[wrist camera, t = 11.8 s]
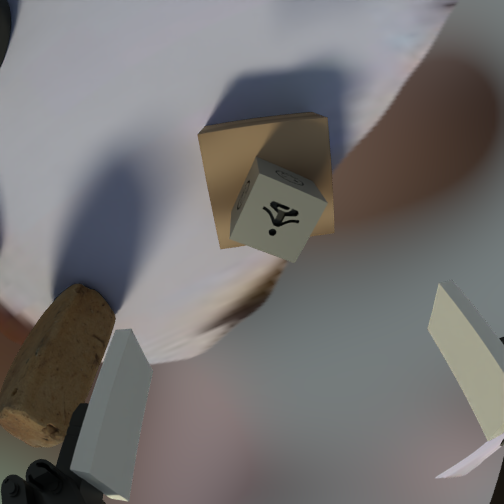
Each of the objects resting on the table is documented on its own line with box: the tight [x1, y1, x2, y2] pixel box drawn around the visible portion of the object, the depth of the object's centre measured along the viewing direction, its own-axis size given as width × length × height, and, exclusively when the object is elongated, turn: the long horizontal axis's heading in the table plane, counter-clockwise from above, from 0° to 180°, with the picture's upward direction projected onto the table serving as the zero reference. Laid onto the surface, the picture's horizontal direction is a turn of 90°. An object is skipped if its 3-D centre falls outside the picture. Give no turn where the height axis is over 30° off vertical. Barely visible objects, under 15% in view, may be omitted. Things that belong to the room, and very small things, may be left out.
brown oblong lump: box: [0, 284, 116, 447], centre depth 29 cm, size 11×8×20 cm
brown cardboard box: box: [198, 112, 334, 249], centre depth 28 cm, size 10×10×6 cm
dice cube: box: [229, 157, 328, 263], centre depth 24 cm, size 5×5×5 cm
